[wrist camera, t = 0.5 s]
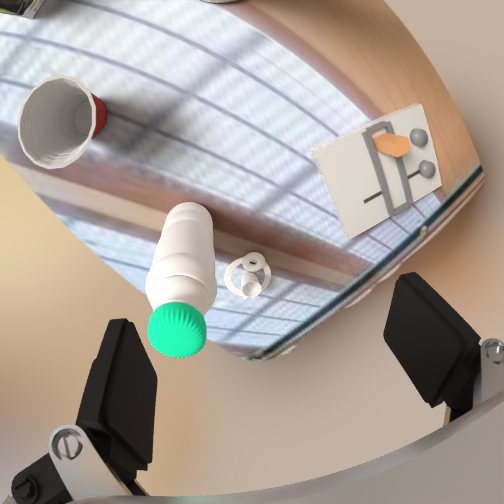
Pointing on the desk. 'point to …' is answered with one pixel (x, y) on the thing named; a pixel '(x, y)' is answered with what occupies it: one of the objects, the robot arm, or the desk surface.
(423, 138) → the console
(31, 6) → the tea box
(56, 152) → the plastic cup
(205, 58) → the desk surface
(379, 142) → the block
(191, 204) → the water bottle
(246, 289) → the white ring with post
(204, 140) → the desk surface
